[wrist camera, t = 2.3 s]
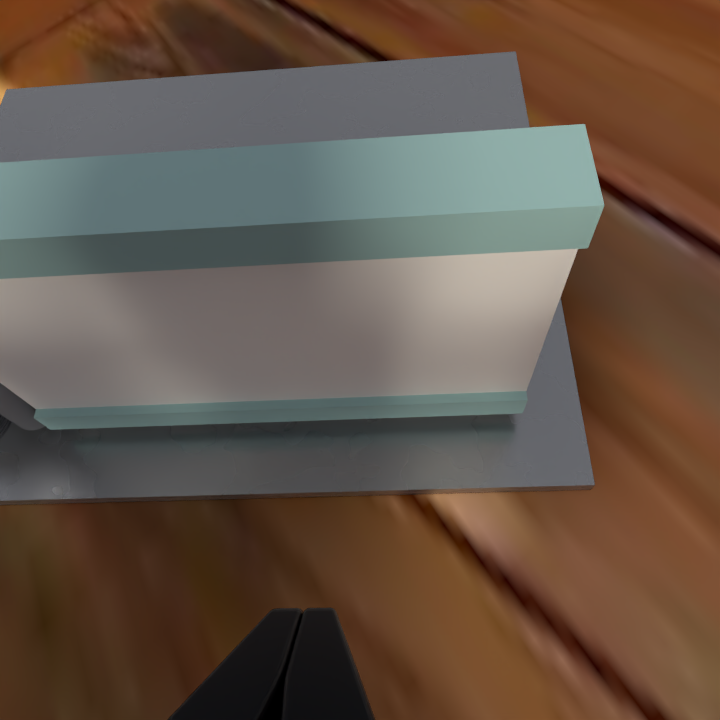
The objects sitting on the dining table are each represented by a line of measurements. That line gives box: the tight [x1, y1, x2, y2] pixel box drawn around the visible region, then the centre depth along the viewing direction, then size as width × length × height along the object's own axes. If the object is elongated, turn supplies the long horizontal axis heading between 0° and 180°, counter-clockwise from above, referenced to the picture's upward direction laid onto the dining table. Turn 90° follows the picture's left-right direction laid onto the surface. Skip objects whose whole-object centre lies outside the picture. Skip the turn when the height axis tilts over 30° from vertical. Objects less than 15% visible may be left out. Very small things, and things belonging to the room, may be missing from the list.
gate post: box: [0, 52, 595, 505], centre depth 20 cm, size 24×20×12 cm
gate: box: [0, 124, 604, 430], centre depth 16 cm, size 17×2×10 cm, turn 90°
